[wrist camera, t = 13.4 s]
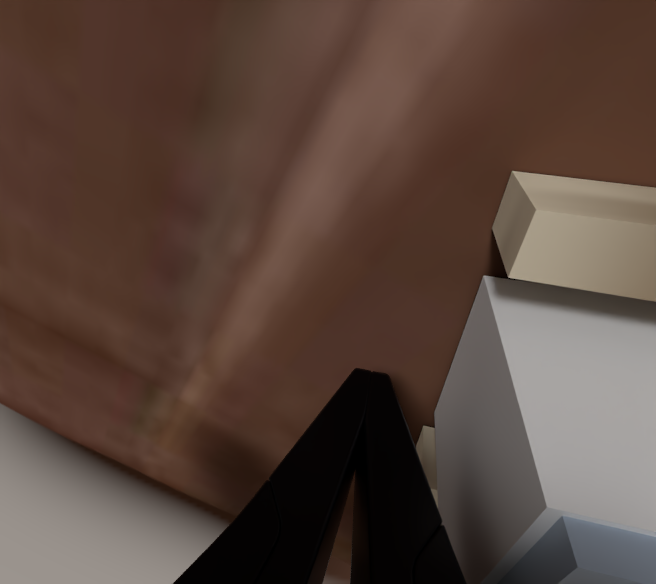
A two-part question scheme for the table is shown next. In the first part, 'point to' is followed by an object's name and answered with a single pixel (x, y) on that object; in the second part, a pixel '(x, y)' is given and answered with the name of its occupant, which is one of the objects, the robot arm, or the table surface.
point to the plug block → (550, 438)
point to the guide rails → (571, 246)
